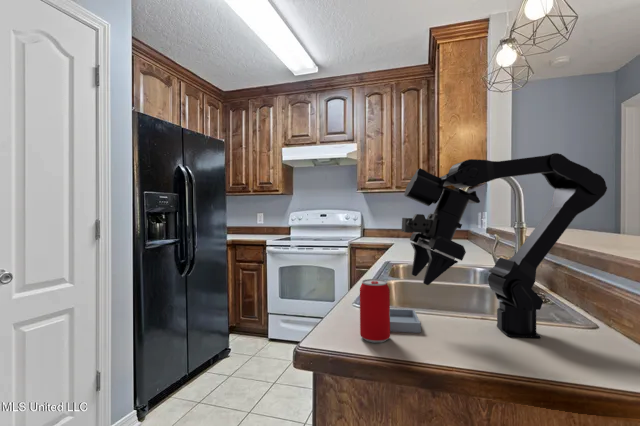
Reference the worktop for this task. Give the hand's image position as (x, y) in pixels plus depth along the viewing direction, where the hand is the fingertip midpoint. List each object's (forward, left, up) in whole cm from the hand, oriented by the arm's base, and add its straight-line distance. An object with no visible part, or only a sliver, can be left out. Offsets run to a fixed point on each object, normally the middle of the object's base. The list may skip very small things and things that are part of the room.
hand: (419, 279), depth 72 cm
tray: (+5, -5, -12) cm, 13 cm away
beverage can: (+10, +5, -12) cm, 16 cm away
